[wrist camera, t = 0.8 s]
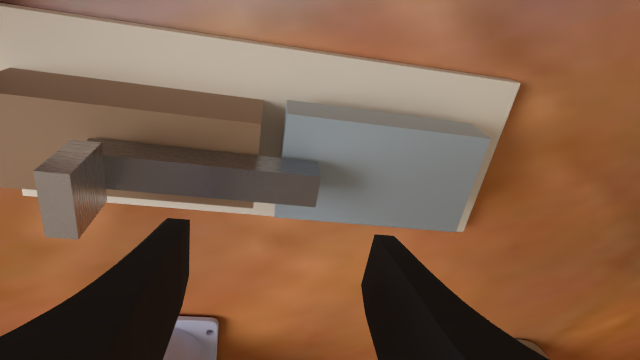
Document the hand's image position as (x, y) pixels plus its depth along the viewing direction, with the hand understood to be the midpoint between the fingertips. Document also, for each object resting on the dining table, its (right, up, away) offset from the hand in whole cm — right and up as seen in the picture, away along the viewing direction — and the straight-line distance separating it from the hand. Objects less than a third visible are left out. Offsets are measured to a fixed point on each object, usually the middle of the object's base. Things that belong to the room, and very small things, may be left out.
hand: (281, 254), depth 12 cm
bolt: (-3, +3, +4) cm, 6 cm away
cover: (+4, +3, +8) cm, 9 cm away
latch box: (-1, +5, +9) cm, 10 cm away
